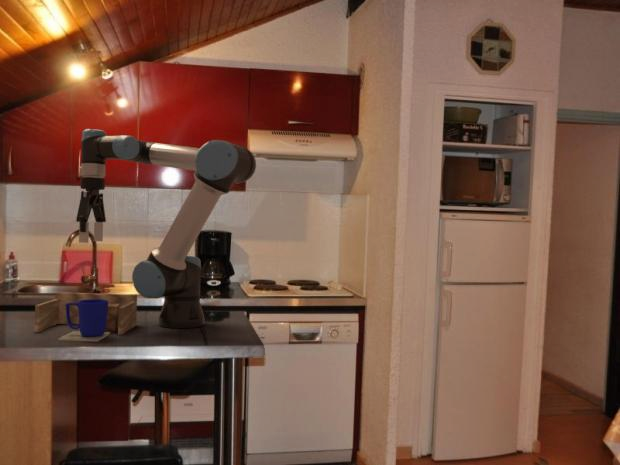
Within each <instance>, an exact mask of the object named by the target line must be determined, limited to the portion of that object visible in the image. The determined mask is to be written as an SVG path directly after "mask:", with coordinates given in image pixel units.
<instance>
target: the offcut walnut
mask: <svg viewBox="0 0 620 465" xmlns="http://www.w3.org/2000/svg"><path fill="white" fill-rule="evenodd" d="M105 332H110V333H114V334H115V333H116V332H117V333H118V319H117V320H106V329H105Z"/></svg>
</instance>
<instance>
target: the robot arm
mask: <svg viewBox="0 0 620 465" xmlns="http://www.w3.org/2000/svg"><path fill="white" fill-rule="evenodd" d="M80 144H81V145H80V146H81V157H80V158H81V161H80V167H79V170H80V176H81V177H80V189H81V192H80V199H79V203H78V204H79V205H78V210H77V214H76V219H75V221H76V222H77V223H79V226H78V227H79V228H78V230H79V232H78V243H80V244H81V243H83V244H89V234H90V232H89V230H90V226H89V225H90V223H89V222H88V221H89V218H90V214H91V211H92V213H93V215H94V222H93V223H94V225H93V228H94V229H93V242H103V239H104V232H103V231H104V223H106V222H107V218H106V213H105V211H106V210H105V205H104V193H102V192H100V191H103V190H105V188H106V179H105V177H106V160H121V161H127V162H133V163H134V162H135V163H139V164H143V165H150V166H160V167H166V168H173V169H180V170H187V171H194V172H193V176H194V180H195V181H194V184H193V186H192V187H191V189H190V191H189V193H188V194H187V196H186V198H185V200H184V201H183V204H182V205H181V207H180V209H179V210H178V213H177V215H176V217H175V218H174V220H173V221H172V224H171V225H170V227H169V229H168V231H167V232H166V234H165V237H164V238H163V240H162V241H161V244H160V246H158V247H154V248H153V249H151V251H150V253H149V255H148V257H147V259H145V260H142V261H140V262H138V263H137V264H136V265H135V266H134V267H133V271H132V275H131V277H132V282H133V287H134V290H135V291H136V292H137V293H138V295H139V296H141V297H143V298H146V299H160V298H164V300H163V304H162V307H161V310H160V313H159V314H158V315H159V316H158V319H157V320H158V321H157V324H158V326H160V327H162V328H163V327H164V328H169V329H171V328H172V329H190V328H199V327H203V326H205V319H206V318H205V315H204V312H203V311H204V310H203V308H202V305H201V278H202V264H201V263H202V261H201V259H200V258H199V257H197V256H190V255H189V252H190V251H191V249H192V247H193V246H194V244H195V242H196V240H197V239H198V237H199V235H200V234H201V231H202V230H203V228H204V226H205V224H206V222H207V221H208V219H209V217H210V216H211V214H212V212H213V210H214V208H215V207H216V204H217V203H218V201H219V200H220V198H221V196H223V195H227V194H228V193H229V192H230V190H231V188H232V187H233V185H234V184H241V183H245V182H246V181H248V180H250V179H251V178H252V177H253V176H254V174H255V171H256V168H257V161H256V157H255V155H254V154H253V152H252V151H250V149H248V148H247V147H245V146H242V145H238V144H235V143H231V142H229V141H227V140H217V139H216V140H209V141H207V142H205V143H204V144H203V145H201V147H200V148H199V147H192V146H186V145H185V146H184V145H175V144H170V143H169V144H168V143H167V144H166V143H159V142H152V141H145V140H140V139H136V137H135V136H133V135H126V134H121V135H107V132H106V131H104V130H101V129H95V128H94V129H91V128H86V129H84V130H82V133H81V141H80Z"/></svg>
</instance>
